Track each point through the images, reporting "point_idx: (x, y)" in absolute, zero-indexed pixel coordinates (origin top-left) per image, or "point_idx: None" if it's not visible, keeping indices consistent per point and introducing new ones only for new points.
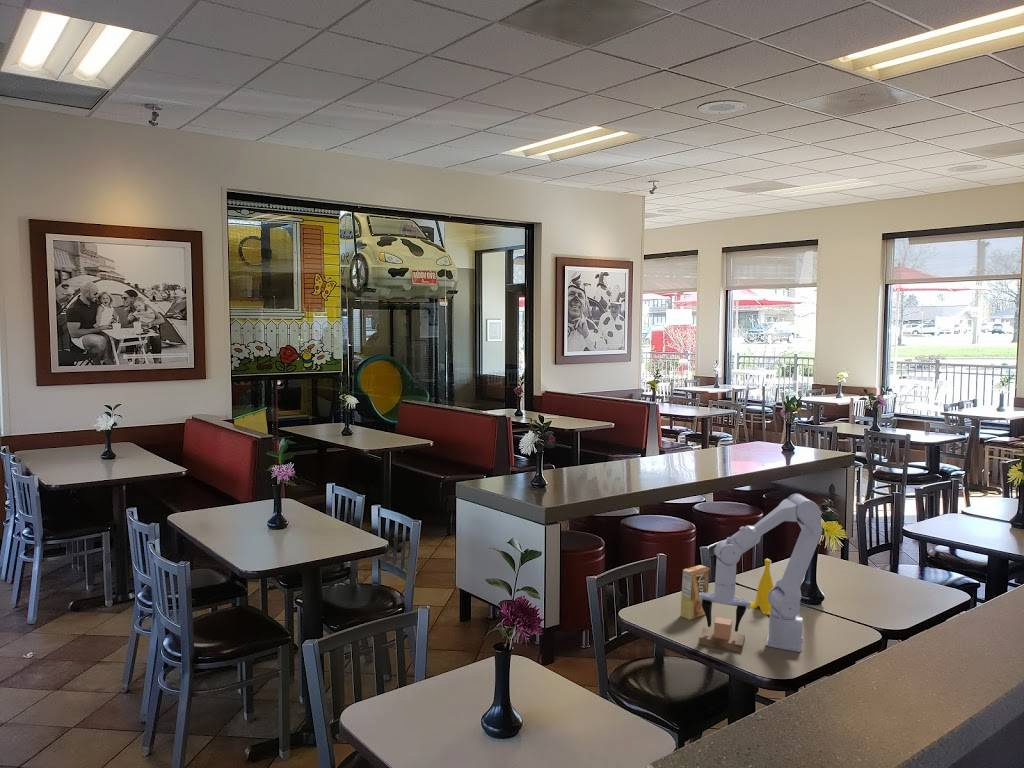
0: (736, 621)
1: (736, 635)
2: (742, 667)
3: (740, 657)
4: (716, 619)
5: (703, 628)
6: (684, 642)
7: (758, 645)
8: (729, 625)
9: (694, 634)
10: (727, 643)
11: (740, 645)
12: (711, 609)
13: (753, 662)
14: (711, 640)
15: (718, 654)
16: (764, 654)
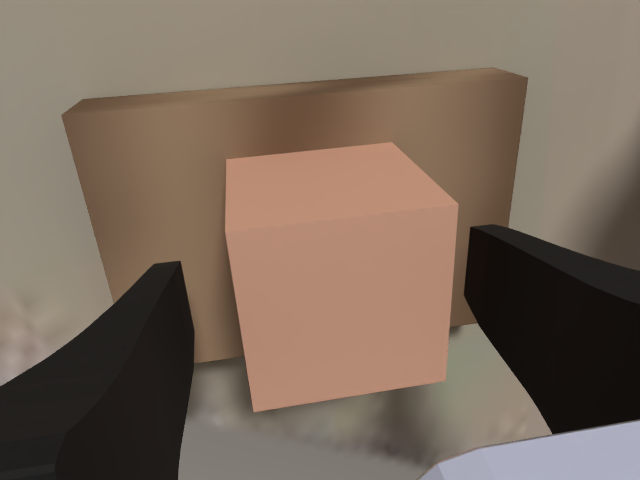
0: (539, 397)
1: (443, 139)
2: None
3: (462, 365)
4: (251, 316)
5: (72, 141)
6: (22, 361)
7: (605, 89)
8: (432, 377)
9: (8, 153)
10: None
11: None
12: (132, 358)
13: None
14: (243, 351)
15: (321, 401)
16: (624, 238)
